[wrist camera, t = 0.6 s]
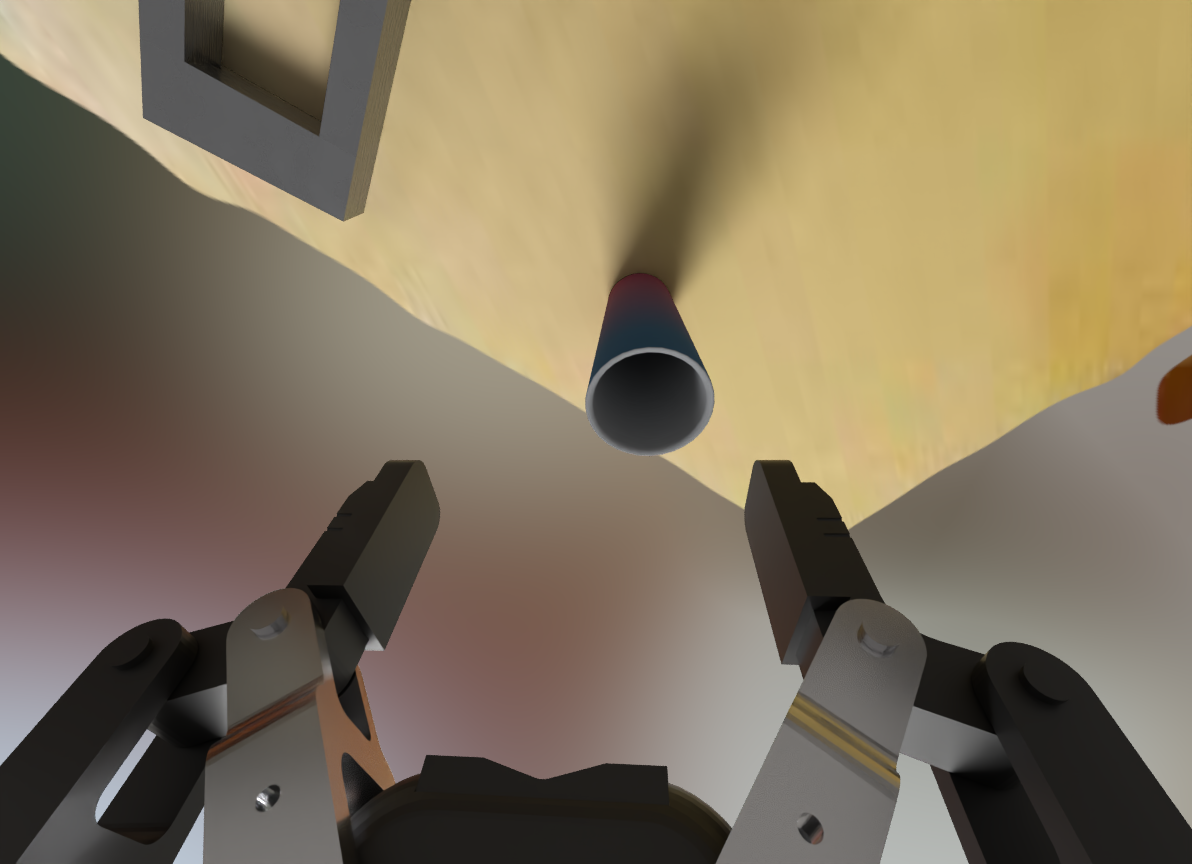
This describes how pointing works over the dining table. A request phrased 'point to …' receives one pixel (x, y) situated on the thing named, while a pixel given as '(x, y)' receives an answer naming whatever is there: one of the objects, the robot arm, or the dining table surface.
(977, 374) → the dining table surface
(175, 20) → the panel
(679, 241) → the dining table surface
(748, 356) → the dining table surface
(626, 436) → the cup
